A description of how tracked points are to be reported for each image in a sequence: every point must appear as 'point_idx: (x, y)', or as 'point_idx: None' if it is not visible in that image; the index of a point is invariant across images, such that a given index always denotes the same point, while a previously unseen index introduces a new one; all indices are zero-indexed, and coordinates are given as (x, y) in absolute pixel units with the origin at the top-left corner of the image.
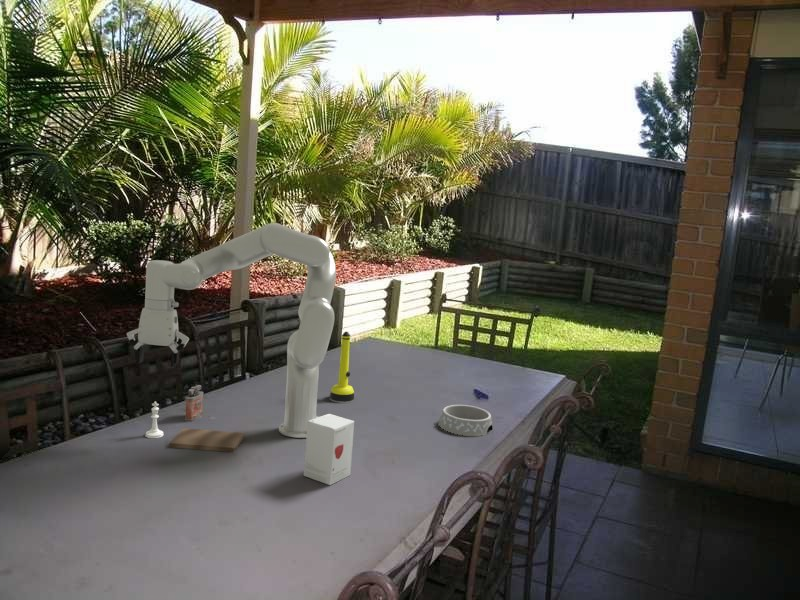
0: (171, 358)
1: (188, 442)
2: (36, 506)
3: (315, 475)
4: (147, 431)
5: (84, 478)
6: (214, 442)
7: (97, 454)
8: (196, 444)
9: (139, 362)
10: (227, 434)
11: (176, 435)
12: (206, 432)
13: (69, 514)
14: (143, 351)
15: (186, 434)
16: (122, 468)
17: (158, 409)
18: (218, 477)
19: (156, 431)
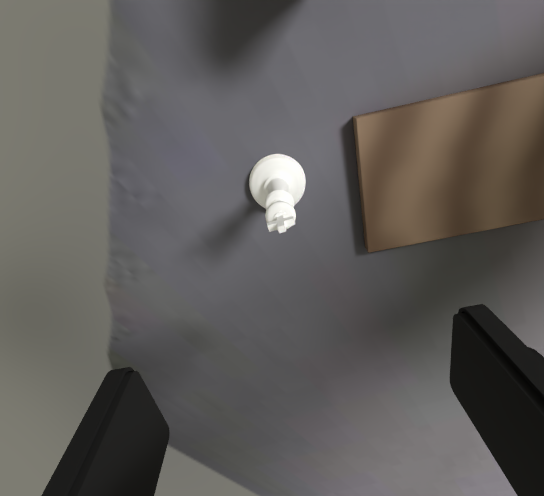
0: (504, 463)
1: (421, 228)
2: (283, 481)
3: None
4: (251, 186)
5: (285, 415)
6: (501, 198)
7: (229, 337)
8: (449, 233)
9: (166, 431)
10: (536, 110)
11: (362, 192)
12: (453, 123)
13: (340, 482)
14: (90, 474)
15: (391, 171)
16: (323, 369)
17: (295, 213)
18: (535, 342)
19: (288, 192)
